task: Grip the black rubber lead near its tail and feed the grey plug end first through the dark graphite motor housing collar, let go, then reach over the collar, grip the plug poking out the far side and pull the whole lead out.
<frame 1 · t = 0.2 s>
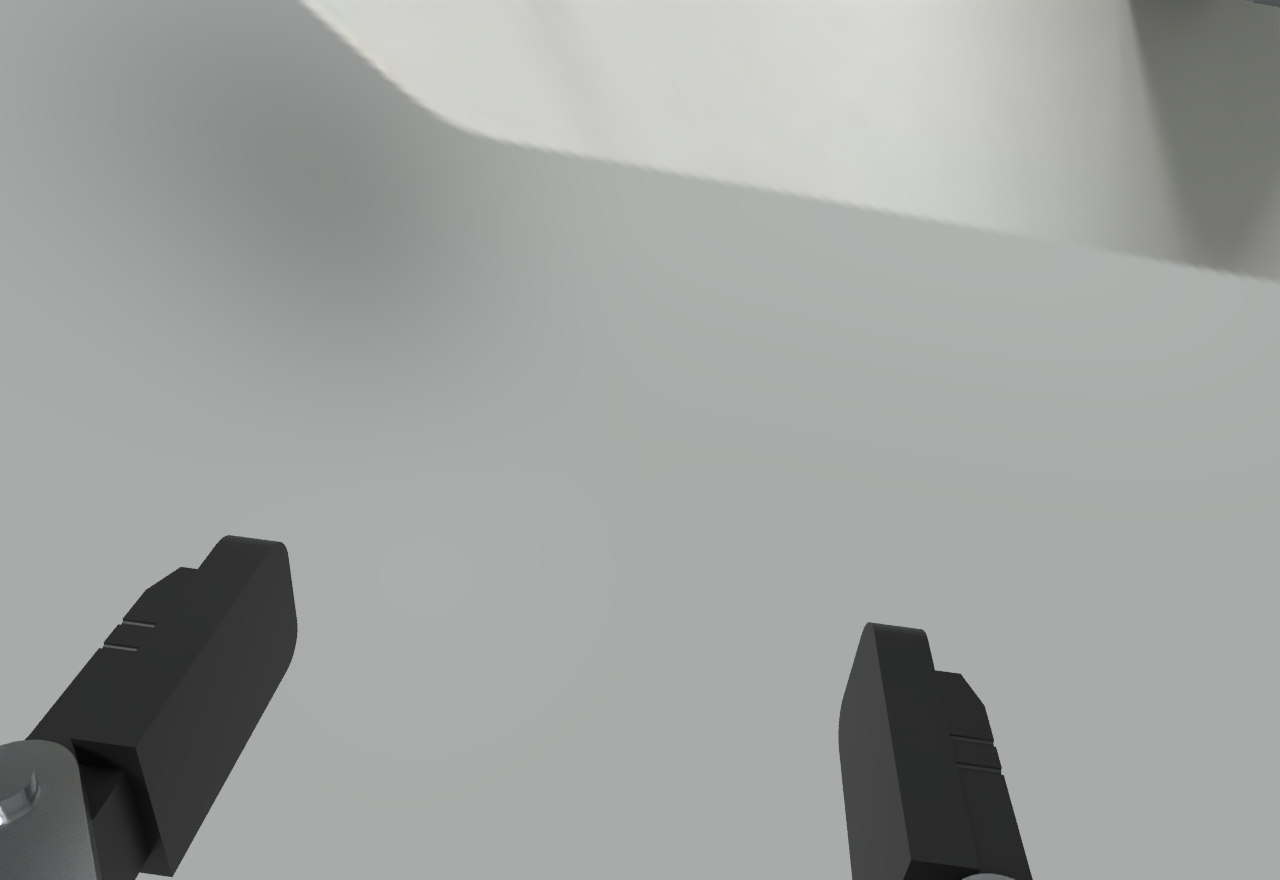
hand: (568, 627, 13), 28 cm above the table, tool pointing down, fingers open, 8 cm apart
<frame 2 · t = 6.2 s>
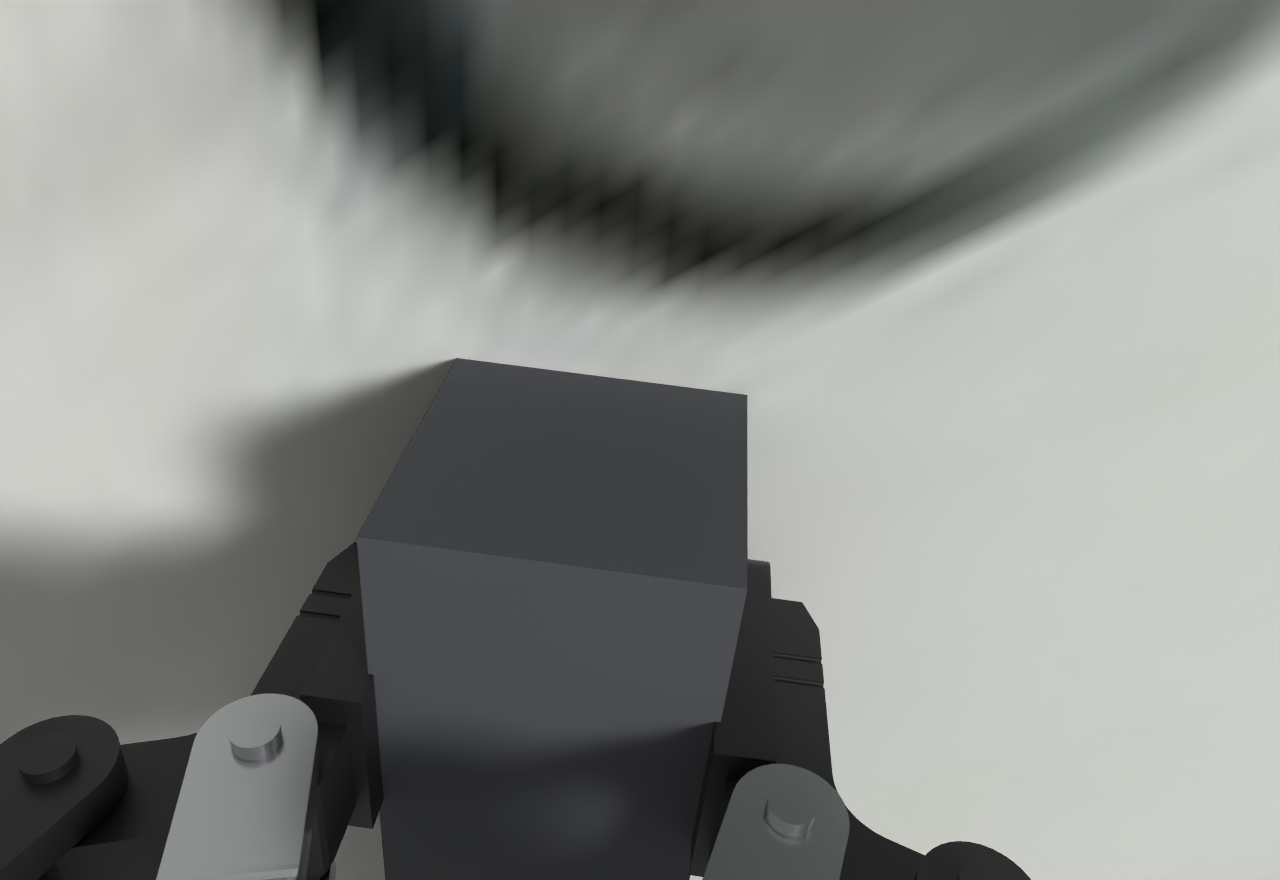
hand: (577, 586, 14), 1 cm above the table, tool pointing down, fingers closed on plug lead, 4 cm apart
plug lead: (564, 832, 18), on the table, touching gripper
when the fingers open (2 cm above the table, at t = 10.2 s): plug lead moves 1 cm, on the table.
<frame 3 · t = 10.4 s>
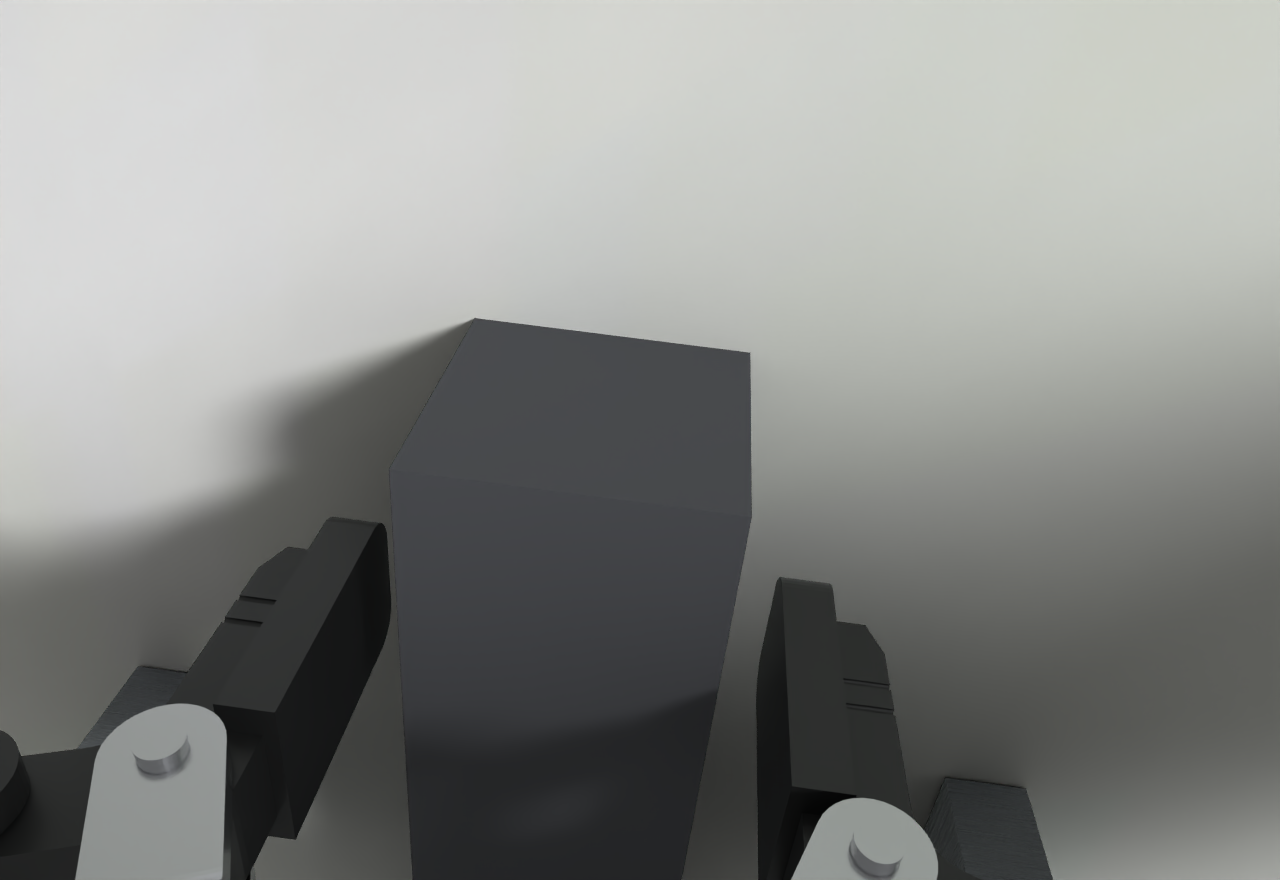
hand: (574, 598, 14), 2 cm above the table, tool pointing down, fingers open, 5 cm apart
plug lead: (574, 783, 19), on the table
motor housing: (570, 794, 19), on the table
when the fingers open (2 cm above the table, at t = 20.4 s): plug lead stays where it is, on the table.
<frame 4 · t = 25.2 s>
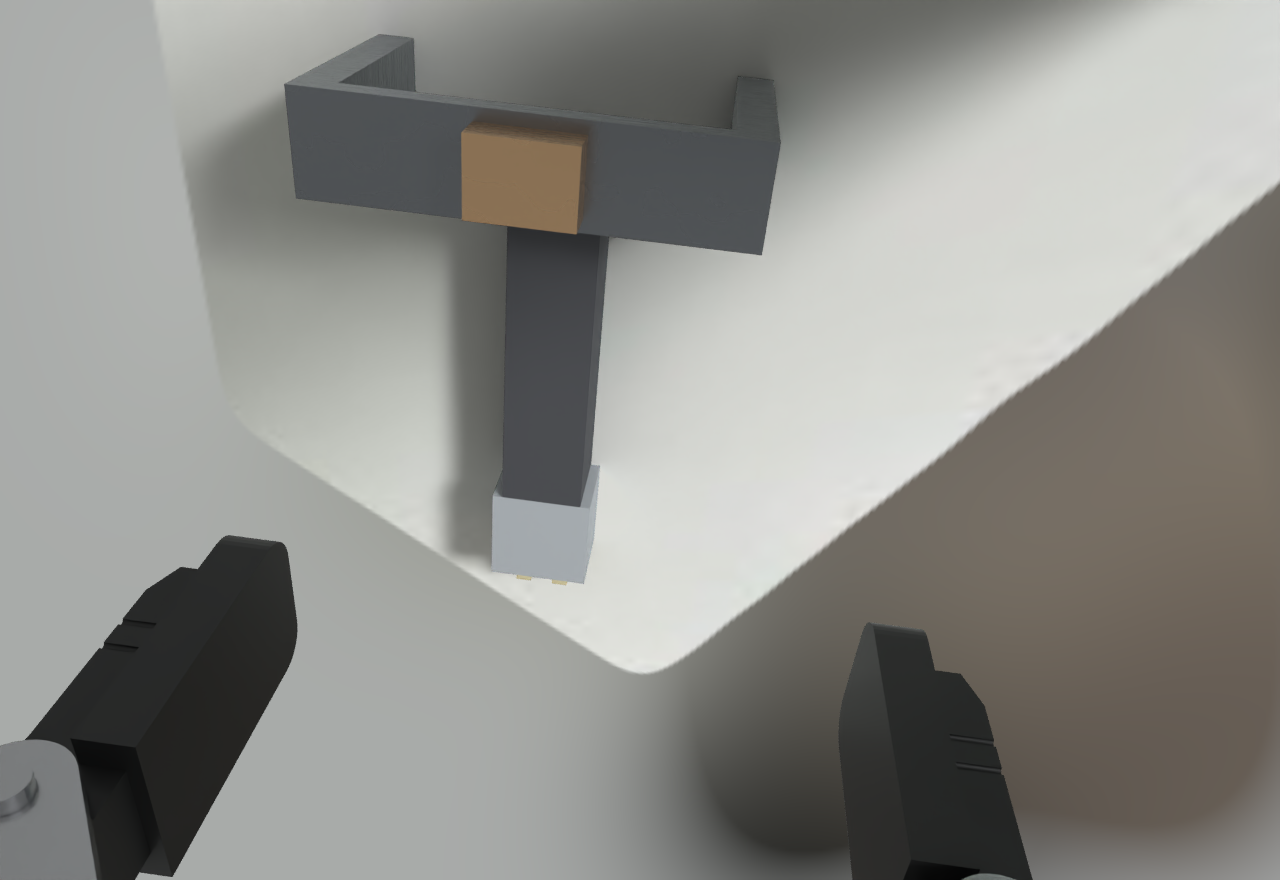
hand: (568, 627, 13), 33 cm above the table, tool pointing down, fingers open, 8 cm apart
plug lead: (558, 379, 49), on the table
motor housing: (572, 105, 42), on the table
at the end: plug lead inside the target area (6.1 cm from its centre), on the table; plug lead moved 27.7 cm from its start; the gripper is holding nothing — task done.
